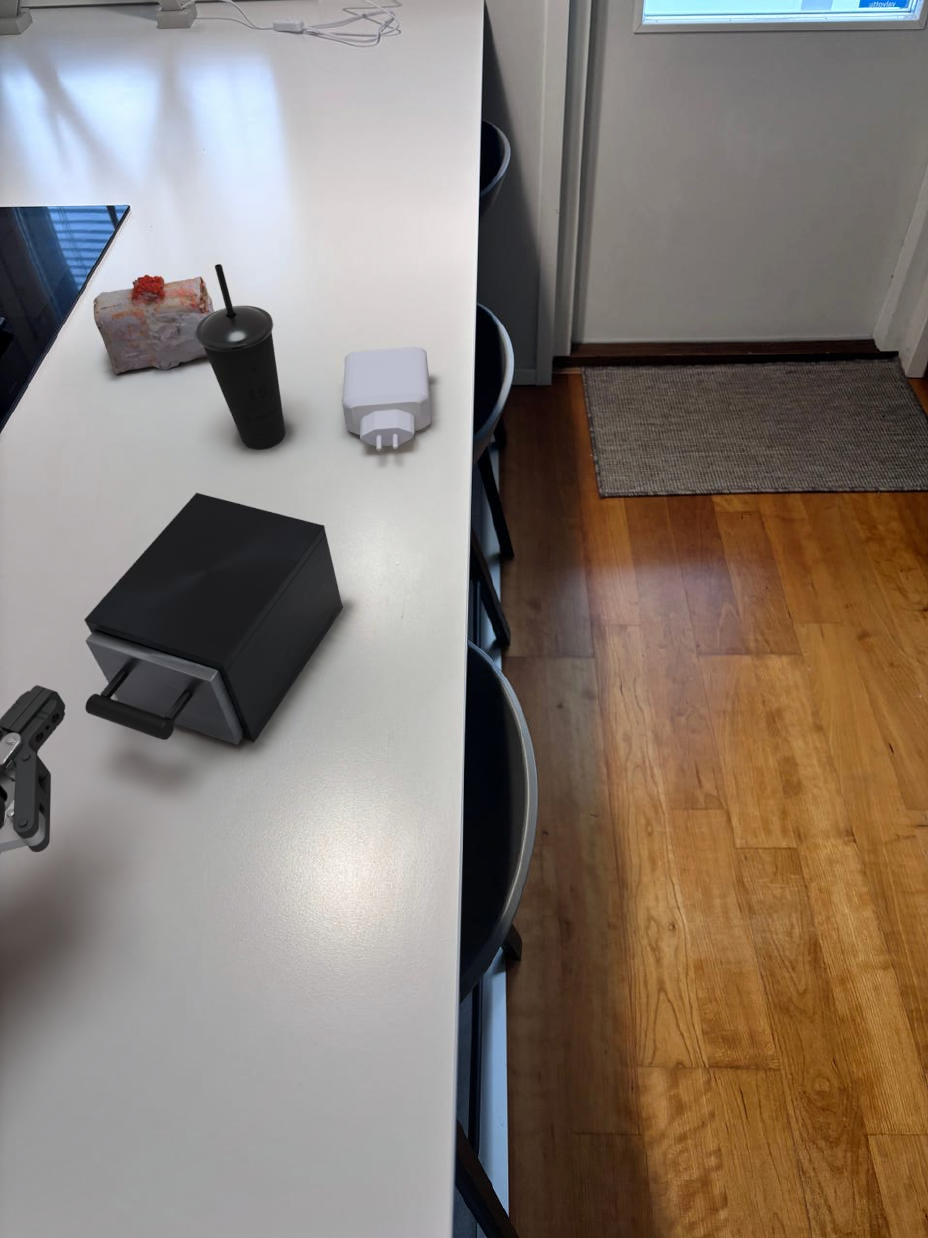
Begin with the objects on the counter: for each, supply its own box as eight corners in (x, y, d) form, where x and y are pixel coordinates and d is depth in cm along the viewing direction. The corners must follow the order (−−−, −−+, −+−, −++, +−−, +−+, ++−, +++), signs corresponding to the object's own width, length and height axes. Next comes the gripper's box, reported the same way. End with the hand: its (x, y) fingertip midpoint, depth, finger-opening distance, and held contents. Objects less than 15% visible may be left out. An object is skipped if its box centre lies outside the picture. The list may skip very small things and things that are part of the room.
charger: (346, 470, 100) (350, 387, 110) (433, 463, 100) (429, 381, 110) (339, 434, 96) (343, 351, 106) (429, 427, 96) (425, 345, 106)
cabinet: (254, 742, 78) (223, 663, 70) (126, 698, 81) (83, 619, 74) (343, 607, 87) (324, 525, 79) (225, 574, 91) (196, 492, 83)
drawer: (208, 788, 74) (177, 726, 68) (88, 745, 77) (48, 682, 71) (323, 617, 85) (306, 550, 79) (214, 586, 88) (189, 519, 82)
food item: (222, 328, 120) (201, 254, 113) (227, 362, 115) (206, 287, 107) (113, 348, 118) (84, 274, 111) (113, 384, 113) (83, 309, 106)
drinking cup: (215, 436, 105) (162, 266, 90) (272, 406, 108) (230, 237, 93) (253, 467, 101) (204, 295, 86) (311, 435, 104) (274, 264, 89)
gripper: (-92, 946, 48) (114, 688, 58) (-273, 859, 52) (-50, 632, 62) (-26, 998, 54) (151, 755, 64) (-194, 917, 58) (-2, 700, 68)
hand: (51, 695), depth 63 cm, fingers closed
